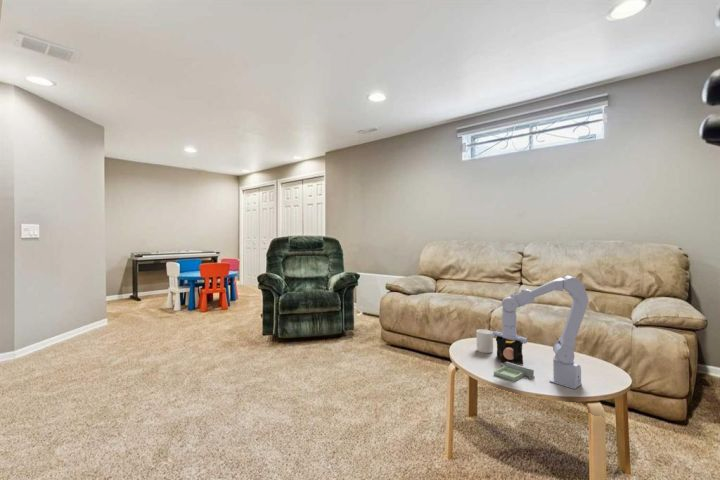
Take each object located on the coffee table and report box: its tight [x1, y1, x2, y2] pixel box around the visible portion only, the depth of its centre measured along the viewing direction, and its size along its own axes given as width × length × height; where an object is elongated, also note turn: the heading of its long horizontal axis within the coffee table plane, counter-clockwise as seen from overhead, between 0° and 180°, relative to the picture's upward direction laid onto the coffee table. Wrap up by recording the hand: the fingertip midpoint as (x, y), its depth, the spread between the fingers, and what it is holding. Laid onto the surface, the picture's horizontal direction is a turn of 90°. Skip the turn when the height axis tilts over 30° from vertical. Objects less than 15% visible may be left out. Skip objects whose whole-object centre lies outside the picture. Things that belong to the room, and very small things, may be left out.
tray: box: [493, 365, 525, 382], centre depth 147 cm, size 9×9×2 cm
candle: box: [496, 339, 524, 365], centre depth 166 cm, size 10×10×10 cm
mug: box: [476, 328, 494, 354], centre depth 181 cm, size 12×8×10 cm
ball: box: [503, 348, 514, 360], centre depth 147 cm, size 5×5×5 cm
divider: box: [505, 362, 535, 380], centre depth 149 cm, size 12×2×4 cm, turn 39°
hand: (509, 355), depth 147 cm, fingers closed on ball, 5 cm apart
